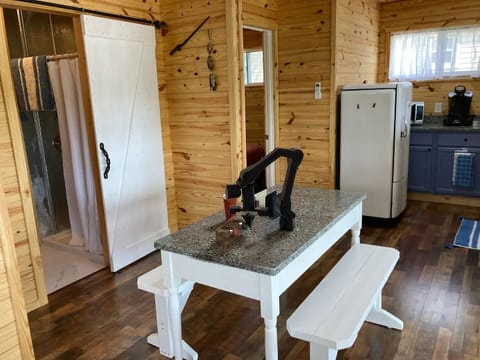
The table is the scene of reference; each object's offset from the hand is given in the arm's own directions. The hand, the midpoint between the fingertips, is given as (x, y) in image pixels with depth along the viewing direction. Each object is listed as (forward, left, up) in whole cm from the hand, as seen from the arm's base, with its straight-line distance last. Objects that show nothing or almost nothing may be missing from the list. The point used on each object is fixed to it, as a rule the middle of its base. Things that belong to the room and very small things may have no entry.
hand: (250, 228), depth 186 cm
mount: (+8, +5, -3) cm, 10 cm away
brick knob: (+6, +10, -1) cm, 11 cm away
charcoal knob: (+6, 0, -1) cm, 6 cm away
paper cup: (+18, -16, -3) cm, 24 cm away
